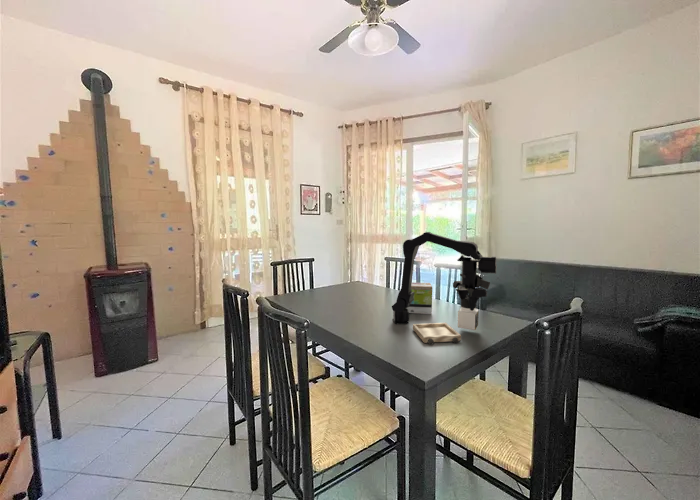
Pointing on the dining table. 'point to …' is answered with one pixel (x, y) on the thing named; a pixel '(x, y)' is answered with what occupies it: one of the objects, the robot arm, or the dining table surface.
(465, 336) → the dining table surface
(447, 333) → the trolley
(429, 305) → the tea box
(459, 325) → the medicine bottle
